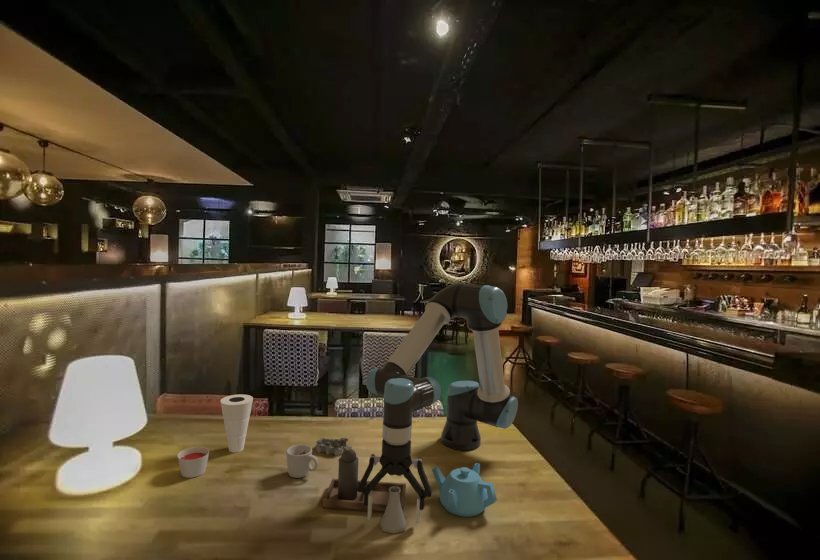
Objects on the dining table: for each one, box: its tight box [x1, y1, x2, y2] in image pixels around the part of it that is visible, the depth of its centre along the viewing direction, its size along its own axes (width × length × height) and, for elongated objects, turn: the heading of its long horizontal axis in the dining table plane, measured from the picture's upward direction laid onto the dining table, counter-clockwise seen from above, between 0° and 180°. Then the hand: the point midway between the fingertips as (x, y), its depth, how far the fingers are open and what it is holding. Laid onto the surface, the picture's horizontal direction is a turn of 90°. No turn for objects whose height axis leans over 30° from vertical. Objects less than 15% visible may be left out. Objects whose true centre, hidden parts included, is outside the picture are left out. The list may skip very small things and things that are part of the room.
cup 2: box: [220, 394, 254, 453], centre depth 154 cm, size 11×11×18 cm
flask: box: [379, 486, 408, 534], centre depth 116 cm, size 7×7×10 cm
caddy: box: [322, 478, 407, 514], centre depth 127 cm, size 22×12×2 cm, turn 87°
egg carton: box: [314, 437, 349, 457], centre depth 157 cm, size 11×8×4 cm
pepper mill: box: [337, 444, 359, 501], centre depth 127 cm, size 6×6×15 cm
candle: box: [177, 446, 210, 479], centre depth 138 cm, size 9×9×6 cm
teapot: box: [431, 462, 498, 518], centre depth 126 cm, size 15×15×11 cm
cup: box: [285, 444, 319, 479], centre depth 139 cm, size 11×8×8 cm
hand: (393, 518), depth 116 cm, fingers open, 12 cm apart
